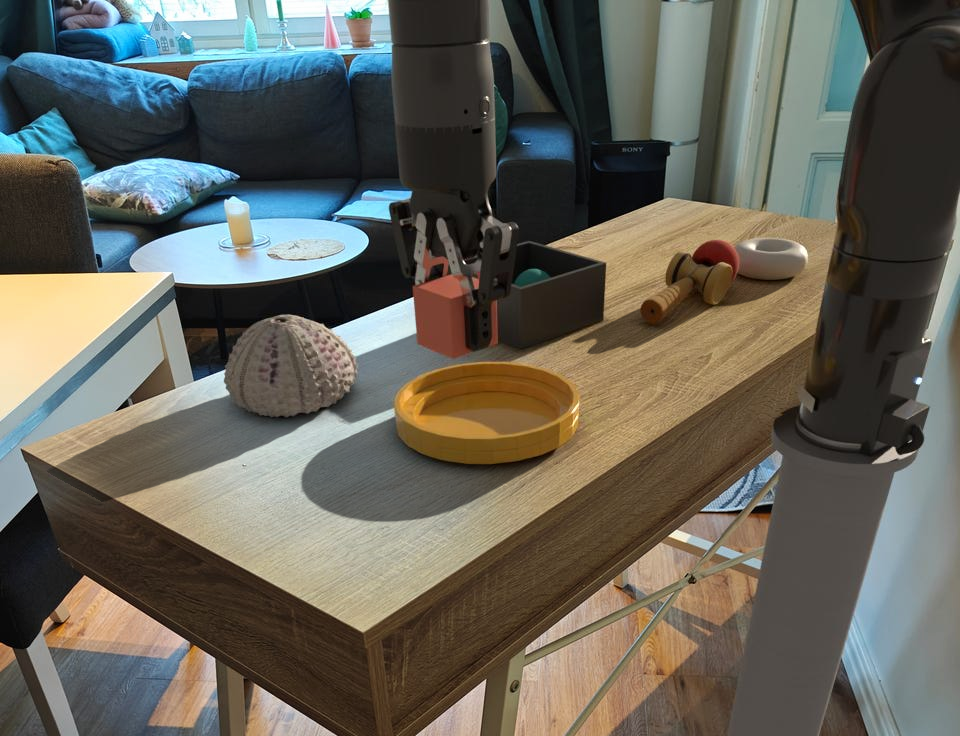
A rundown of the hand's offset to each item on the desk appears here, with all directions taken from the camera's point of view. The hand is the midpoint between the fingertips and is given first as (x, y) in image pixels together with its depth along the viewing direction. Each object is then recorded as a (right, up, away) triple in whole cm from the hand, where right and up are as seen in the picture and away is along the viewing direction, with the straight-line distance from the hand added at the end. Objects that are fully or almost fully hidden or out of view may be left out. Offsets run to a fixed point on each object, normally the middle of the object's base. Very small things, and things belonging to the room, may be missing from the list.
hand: (457, 339), depth 77 cm
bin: (+7, +12, +30) cm, 33 cm away
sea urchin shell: (-17, -1, +15) cm, 23 cm away
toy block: (0, 0, 0) cm, 0 cm away
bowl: (+3, -6, +8) cm, 10 cm away
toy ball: (+8, +14, +30) cm, 34 cm away
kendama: (+28, +15, +33) cm, 45 cm away
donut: (+40, +23, +42) cm, 62 cm away
